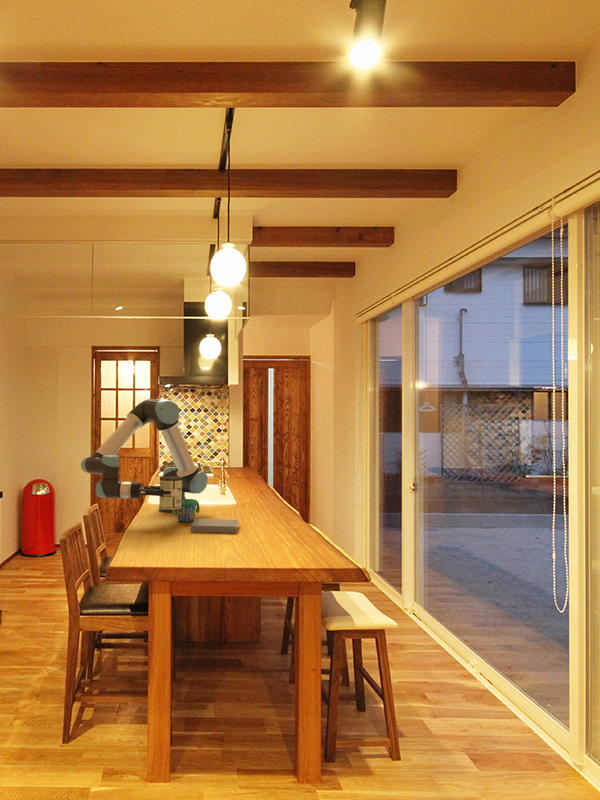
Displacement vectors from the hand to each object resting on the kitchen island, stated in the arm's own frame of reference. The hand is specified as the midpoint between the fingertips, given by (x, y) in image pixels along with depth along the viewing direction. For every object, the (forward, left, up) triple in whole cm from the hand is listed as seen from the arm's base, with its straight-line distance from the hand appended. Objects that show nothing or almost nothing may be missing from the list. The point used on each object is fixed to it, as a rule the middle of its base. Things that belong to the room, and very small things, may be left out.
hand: (180, 491), depth 305 cm
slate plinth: (+3, +17, -16) cm, 24 cm away
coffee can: (0, -4, -8) cm, 9 cm away
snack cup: (-16, +1, -17) cm, 23 cm away
